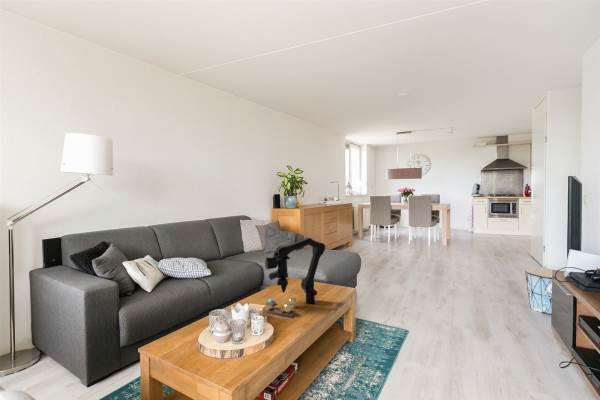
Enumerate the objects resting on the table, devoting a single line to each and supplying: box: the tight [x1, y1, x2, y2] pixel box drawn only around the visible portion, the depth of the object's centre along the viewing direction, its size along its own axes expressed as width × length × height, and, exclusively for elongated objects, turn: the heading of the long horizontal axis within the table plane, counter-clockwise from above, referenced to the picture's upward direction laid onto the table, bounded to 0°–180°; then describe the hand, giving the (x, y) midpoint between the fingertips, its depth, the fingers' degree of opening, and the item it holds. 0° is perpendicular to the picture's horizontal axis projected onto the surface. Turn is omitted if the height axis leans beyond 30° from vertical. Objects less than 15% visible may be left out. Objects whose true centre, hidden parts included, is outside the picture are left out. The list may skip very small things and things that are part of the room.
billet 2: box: [288, 297, 297, 310], centre depth 187 cm, size 4×4×6 cm
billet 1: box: [283, 302, 292, 315], centre depth 176 cm, size 4×4×6 cm
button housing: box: [265, 300, 277, 307], centre depth 192 cm, size 4×4×3 cm
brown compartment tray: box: [265, 306, 299, 320], centre depth 178 cm, size 11×17×3 cm, turn 63°
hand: (283, 292), depth 189 cm, fingers closed
